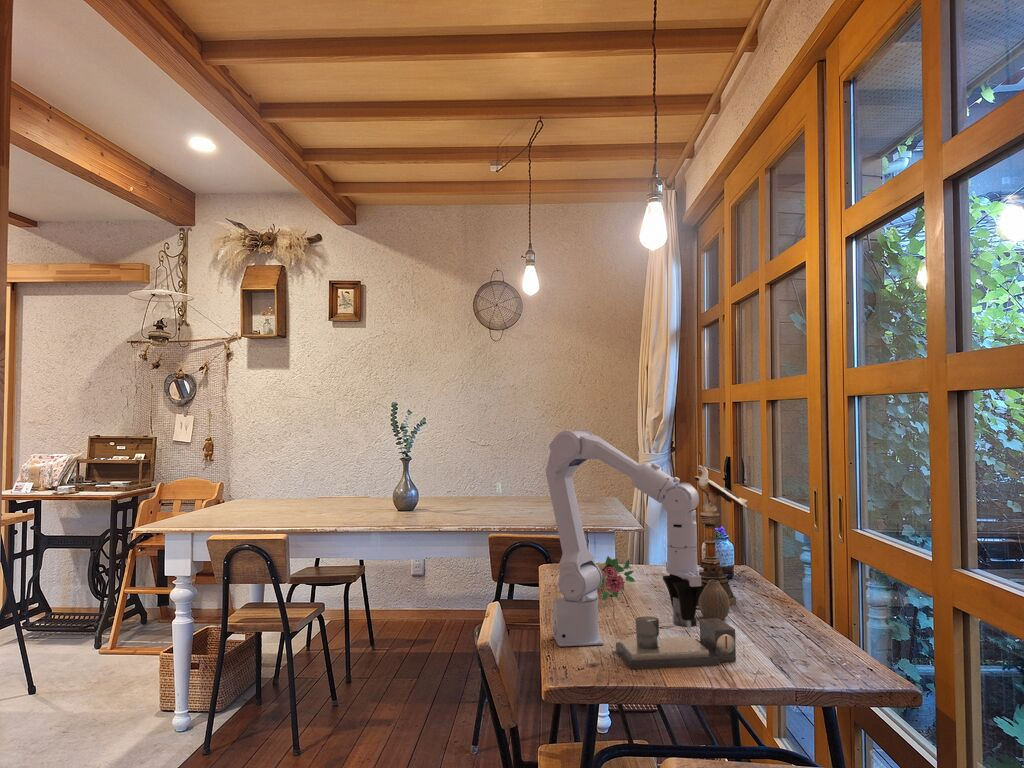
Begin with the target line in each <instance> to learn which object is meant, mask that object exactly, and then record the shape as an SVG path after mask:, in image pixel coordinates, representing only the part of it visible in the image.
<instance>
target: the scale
mask: <svg viewBox="0 0 1024 768" xmlns="http://www.w3.org/2000/svg"><path fill="white" fill-rule="evenodd" d="M659 639H660V646H659V647H658V648H655V649H644V648H640V647H638V646H637V638H630V639H619V642H615V651H616V652H617V653H618V655H619V656H620V658H621V659H622V660H623V661H624V662H625V664H626V665H627V666H628V668H630V670H640V669H641V670H642V669H643V670H645V669H663V668H665V669H666V668H683V667H685V668H687V667H701V666H703V667H704V666H707V667H708V666H719V665H720V663H730V662H731V663H732V662H734V663H735V662H736V661H737V647H736V629H735V628H733V626H731V625H729V624H728V623H726V622H725V621H724V620H720V619H719V618H713V619H706V618H699V639H698V638H694V637H693V636H681V637H680V636H677V637H659Z"/></svg>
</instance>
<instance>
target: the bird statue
mask: <svg viewBox="0 0 1024 768" xmlns="http://www.w3.org/2000/svg"><path fill="white" fill-rule="evenodd" d="M697 469H698V470H699V471H700V472H701V475H700V476H699V475H696V476H694V477H693V478H694V480H696V481H697V486H698V487H699V489H700V490H701V492H703V493H704V494H705V495H706V500H707V501H708V502H707V503H704V504H703V506H702V507H701V509H702V511H701V512H699V516H700V517H701V519H700V523H701V524H703V525H704V526H703V528H704V533H705V535H704V541H703V542H704V544H705V556H704V557H703V558H702V559H701V561H700V562H701V564H700V566H699V567H701V568H703V572H699V575H700V576H701V583H702V584H704V587H705V586H706V585H707V583H708V581H709V580H718V581H719V582H720V585H721V586H722V587H723V589H724V590H725V591H726V593H727V595H728V598H729V602H730V607H731V606H735V605H737V596H735V595H734V593H733V591H732V589H731V585H730V583H729V582H730V580H728V578H727V577H728V576H727V575H726V574H725V573H724V571H723V569H722V567H721V561H720V559H718V558H717V556H716V544H717V543H718V542H717V540H716V527H717V525H718V524H719V523H720V521H719V520H720V519H719V518H720V516H721V513H719V512H718V507H717V503H718V499H719V498H718V497H719V496H720V497H721V498H723V499H724V500H725V501H726V502H727V503H730V504H731V503H732V502H733V503H736V504H739V505H741V506H743V508H744V509H748V506H747V503H748V502H749V501H748V500H747V499H746V498H742V497H739V496H738V495H736V494H735V493H734V492H732V491H731V490H729V489H728V488H727V487H722V486H720V485H718V484H717V483H716V482H715V481H713V480H711V479H709V477H710V475H709V471H708V469H707V467H705V466H703V465H700V464H699V465H697ZM697 606H699V600H698V603H697Z"/></svg>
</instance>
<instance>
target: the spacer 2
mask: <svg viewBox="0 0 1024 768" xmlns="http://www.w3.org/2000/svg"><path fill="white" fill-rule="evenodd" d="M672 618H673V619H672V621H673V625H674V626H677V627H681V628H693V627H696V626H697V611H696V612H695V617H694V620H683V619H682V616H681V610H680V603H679V598H678V596H674V597H673V608H672Z"/></svg>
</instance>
